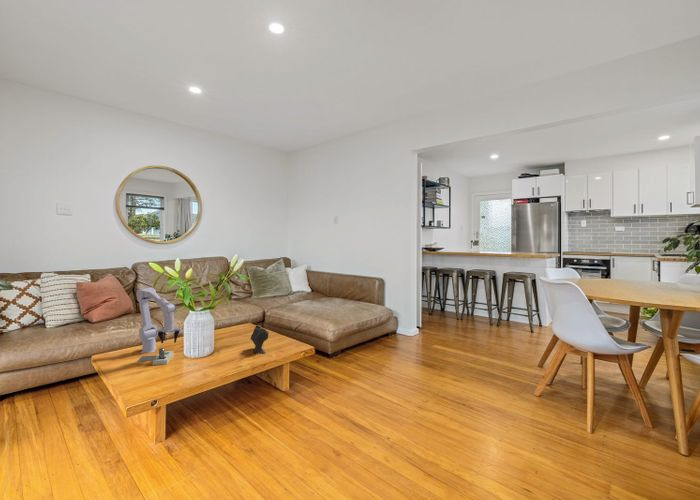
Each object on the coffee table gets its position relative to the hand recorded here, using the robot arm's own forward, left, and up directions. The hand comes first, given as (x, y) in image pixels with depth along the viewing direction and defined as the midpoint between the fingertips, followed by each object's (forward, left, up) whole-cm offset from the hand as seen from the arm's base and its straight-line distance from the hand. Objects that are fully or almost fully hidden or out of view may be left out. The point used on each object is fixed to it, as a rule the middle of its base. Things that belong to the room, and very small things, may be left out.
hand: (168, 342), depth 220 cm
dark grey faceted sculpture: (-4, +58, -10) cm, 59 cm away
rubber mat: (+1, -12, -10) cm, 16 cm away
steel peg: (+9, -2, -10) cm, 13 cm away
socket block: (+5, -2, -10) cm, 11 cm away
